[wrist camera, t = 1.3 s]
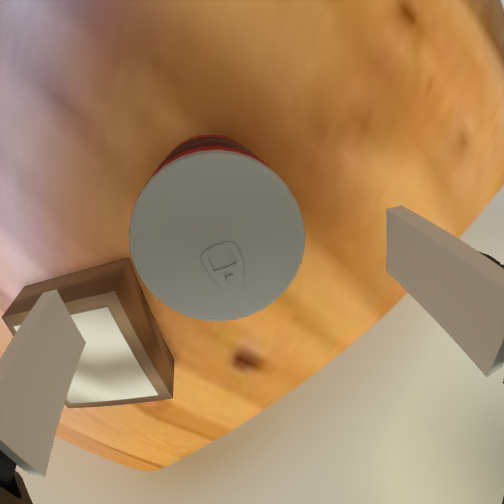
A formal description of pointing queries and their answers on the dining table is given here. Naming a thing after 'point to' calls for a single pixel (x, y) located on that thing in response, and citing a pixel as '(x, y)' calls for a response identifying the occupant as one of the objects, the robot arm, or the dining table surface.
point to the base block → (107, 336)
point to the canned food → (216, 231)
